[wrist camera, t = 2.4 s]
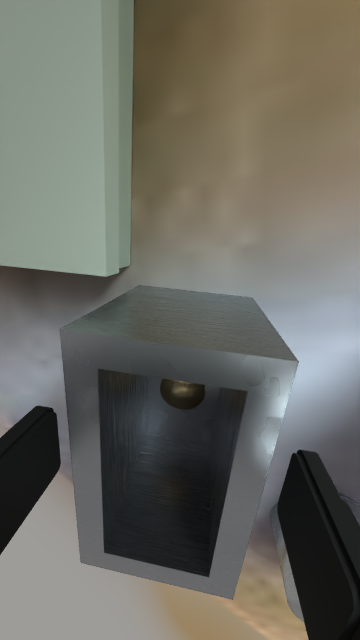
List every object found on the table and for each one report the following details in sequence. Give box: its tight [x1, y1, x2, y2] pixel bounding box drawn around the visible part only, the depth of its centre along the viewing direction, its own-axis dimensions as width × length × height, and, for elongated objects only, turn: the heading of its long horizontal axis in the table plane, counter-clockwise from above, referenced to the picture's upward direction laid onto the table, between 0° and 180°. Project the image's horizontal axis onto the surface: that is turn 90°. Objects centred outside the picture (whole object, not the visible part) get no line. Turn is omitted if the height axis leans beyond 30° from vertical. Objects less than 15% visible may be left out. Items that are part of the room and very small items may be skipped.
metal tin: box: [271, 493, 360, 622], centre depth 14 cm, size 6×6×4 cm
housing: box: [60, 285, 299, 600], centre depth 11 cm, size 10×6×7 cm, turn 175°
